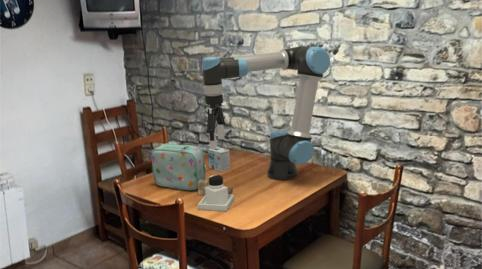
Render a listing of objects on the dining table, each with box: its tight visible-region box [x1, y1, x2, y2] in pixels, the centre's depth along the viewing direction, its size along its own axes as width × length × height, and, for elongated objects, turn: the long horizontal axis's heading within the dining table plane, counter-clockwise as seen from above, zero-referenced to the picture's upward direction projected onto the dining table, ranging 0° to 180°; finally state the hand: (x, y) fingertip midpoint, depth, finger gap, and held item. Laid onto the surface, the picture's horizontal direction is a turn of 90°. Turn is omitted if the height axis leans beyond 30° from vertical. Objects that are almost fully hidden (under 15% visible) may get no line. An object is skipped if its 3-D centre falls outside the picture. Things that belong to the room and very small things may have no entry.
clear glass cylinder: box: [197, 179, 209, 196], centre depth 206 cm, size 4×4×6 cm
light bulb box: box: [207, 146, 231, 173], centre depth 241 cm, size 11×7×11 cm, turn 42°
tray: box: [197, 194, 235, 212], centre depth 193 cm, size 13×13×2 cm
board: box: [228, 186, 234, 195], centre depth 205 cm, size 10×8×2 cm
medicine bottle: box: [204, 174, 228, 205], centre depth 192 cm, size 7×7×12 cm
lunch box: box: [151, 142, 207, 191], centre depth 215 cm, size 27×10×21 cm, turn 66°
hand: (217, 143), depth 194 cm, fingers open, 13 cm apart
